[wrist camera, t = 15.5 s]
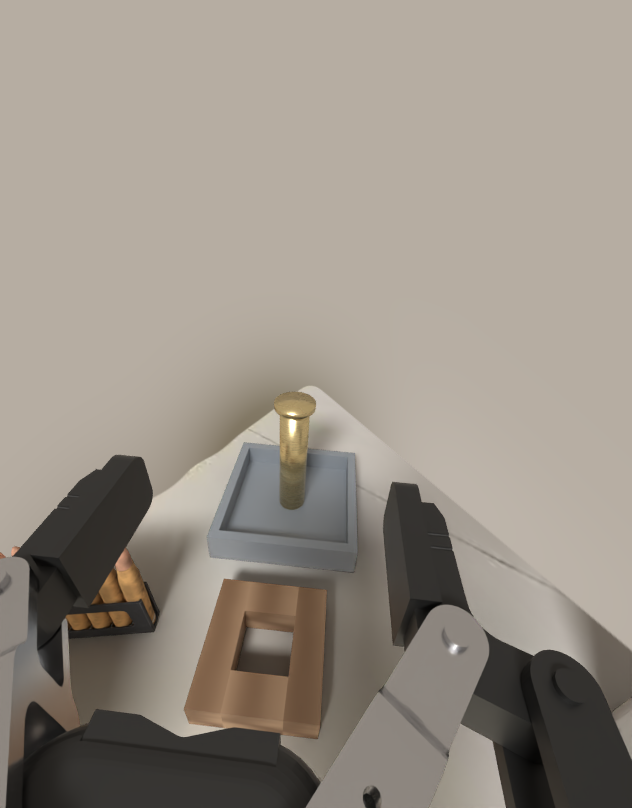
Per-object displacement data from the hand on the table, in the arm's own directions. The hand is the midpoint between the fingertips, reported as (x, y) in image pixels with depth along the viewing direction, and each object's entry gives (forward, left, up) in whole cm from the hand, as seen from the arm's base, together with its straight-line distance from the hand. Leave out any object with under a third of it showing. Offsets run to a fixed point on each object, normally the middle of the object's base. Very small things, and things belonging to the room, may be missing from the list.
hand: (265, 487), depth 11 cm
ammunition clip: (+18, -7, -28) cm, 34 cm away
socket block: (+2, -6, -28) cm, 28 cm away
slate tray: (+2, -23, -28) cm, 36 cm away
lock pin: (+2, -24, -27) cm, 36 cm away
